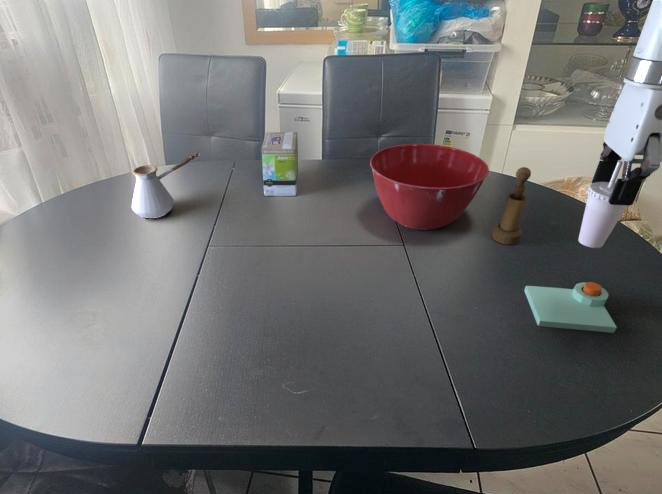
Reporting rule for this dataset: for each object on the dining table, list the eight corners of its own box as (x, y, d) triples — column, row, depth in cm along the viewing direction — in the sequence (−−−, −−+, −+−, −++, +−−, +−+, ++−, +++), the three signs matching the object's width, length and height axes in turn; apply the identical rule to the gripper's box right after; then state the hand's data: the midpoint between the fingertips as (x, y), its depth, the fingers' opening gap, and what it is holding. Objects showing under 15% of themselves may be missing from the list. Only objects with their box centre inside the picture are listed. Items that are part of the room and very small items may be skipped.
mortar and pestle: (524, 244, 106) (546, 173, 96) (497, 245, 106) (516, 174, 96) (513, 231, 112) (533, 162, 102) (487, 231, 112) (504, 163, 102)
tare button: (595, 288, 88) (598, 282, 87) (601, 297, 85) (604, 291, 84) (580, 287, 88) (583, 281, 87) (585, 296, 86) (588, 289, 85)
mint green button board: (596, 295, 90) (601, 283, 88) (619, 333, 81) (625, 321, 79) (523, 289, 92) (527, 278, 91) (537, 326, 83) (542, 314, 81)
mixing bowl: (491, 211, 121) (504, 155, 112) (451, 258, 102) (464, 197, 94) (396, 187, 135) (401, 136, 126) (346, 225, 117) (348, 169, 108)
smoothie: (595, 231, 79) (626, 154, 71) (621, 250, 73) (658, 169, 65) (561, 234, 78) (589, 157, 70) (585, 254, 73) (618, 173, 65)
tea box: (297, 196, 132) (295, 147, 123) (263, 197, 132) (259, 148, 124) (298, 176, 144) (297, 130, 136) (267, 176, 144) (264, 131, 136)
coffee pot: (136, 226, 119) (122, 173, 111) (131, 208, 128) (117, 158, 119) (214, 209, 126) (206, 158, 118) (204, 194, 135) (196, 145, 126)
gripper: (730, 87, 53) (663, 221, 63) (660, 60, 67) (614, 173, 77) (659, 87, 54) (605, 218, 64) (605, 60, 68) (567, 172, 78)
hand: (610, 193), depth 70 cm, fingers closed on smoothie, 6 cm apart
